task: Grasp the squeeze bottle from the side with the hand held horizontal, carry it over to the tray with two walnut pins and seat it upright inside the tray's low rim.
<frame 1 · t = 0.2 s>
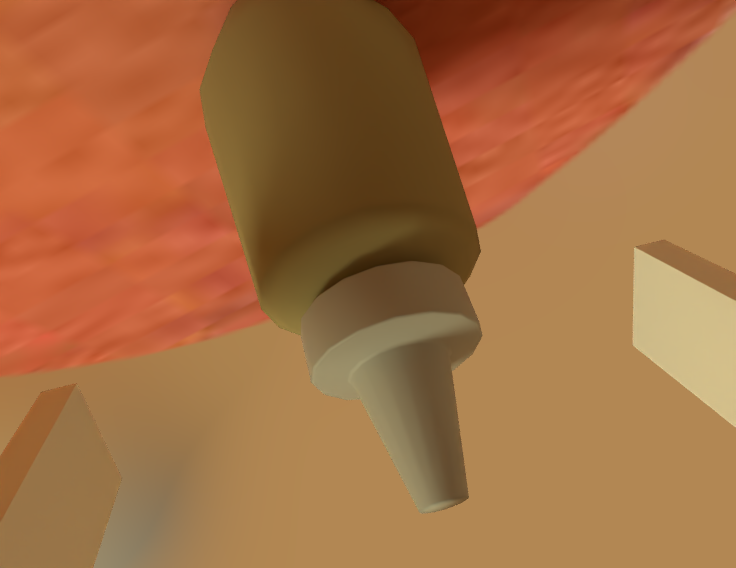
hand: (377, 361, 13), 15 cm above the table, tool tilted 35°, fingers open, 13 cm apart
squeeze bottle: (296, 39, 22), on the table
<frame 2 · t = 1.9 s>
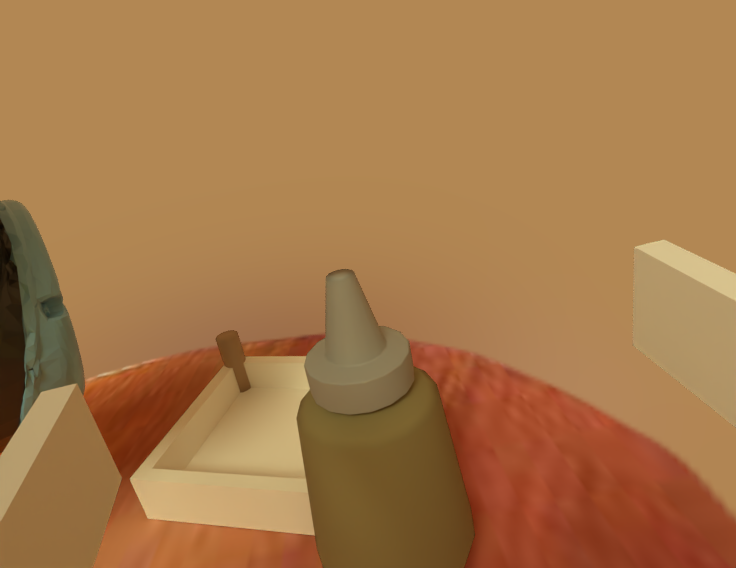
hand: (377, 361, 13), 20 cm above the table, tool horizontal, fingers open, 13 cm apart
tray: (283, 449, 41), on the table
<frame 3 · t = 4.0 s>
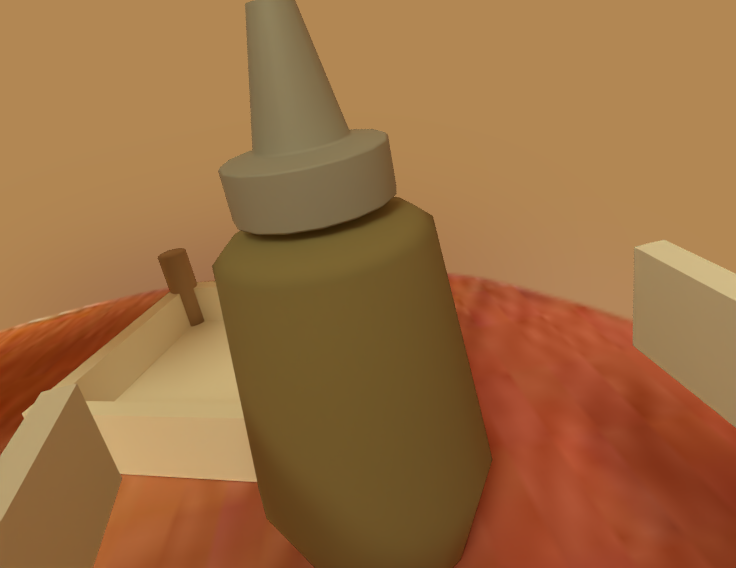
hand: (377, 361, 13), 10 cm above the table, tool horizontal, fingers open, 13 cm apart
squeeze bottle: (391, 535, 21), on the table
tray: (238, 386, 32), on the table
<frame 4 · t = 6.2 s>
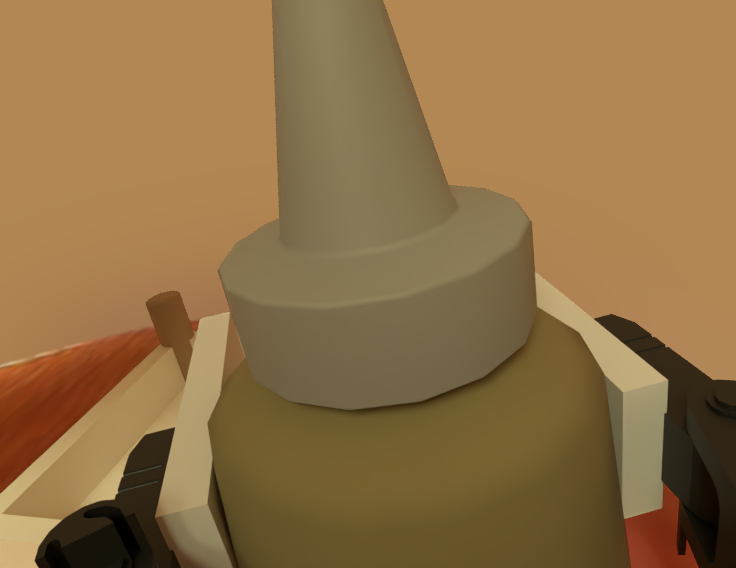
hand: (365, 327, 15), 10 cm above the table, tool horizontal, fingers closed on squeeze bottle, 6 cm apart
tray: (243, 474, 25), on the table
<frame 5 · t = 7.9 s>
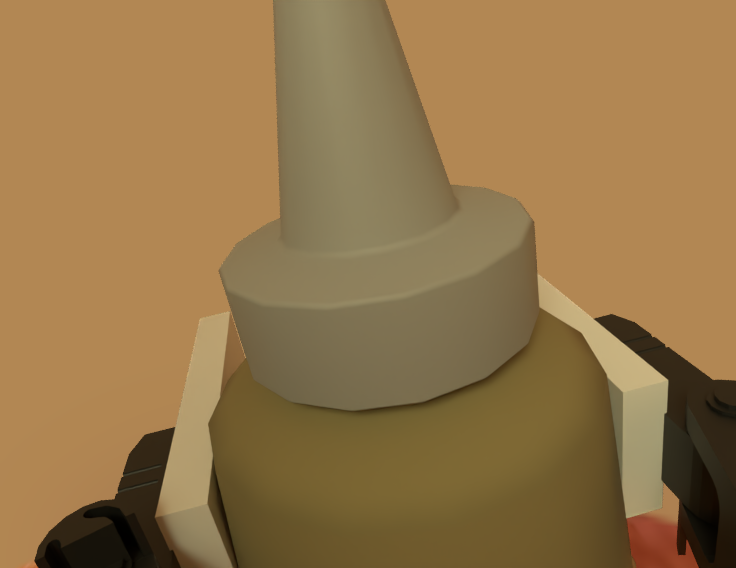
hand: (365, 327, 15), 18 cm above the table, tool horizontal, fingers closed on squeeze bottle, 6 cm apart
when the fingers open (12 cm above the table, at t = 9.6 s): squeeze bottle stays where it is, resting on tray.
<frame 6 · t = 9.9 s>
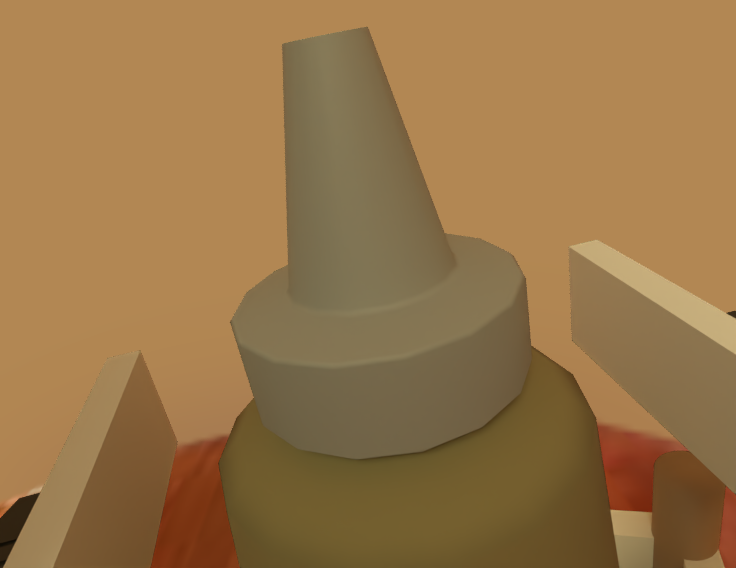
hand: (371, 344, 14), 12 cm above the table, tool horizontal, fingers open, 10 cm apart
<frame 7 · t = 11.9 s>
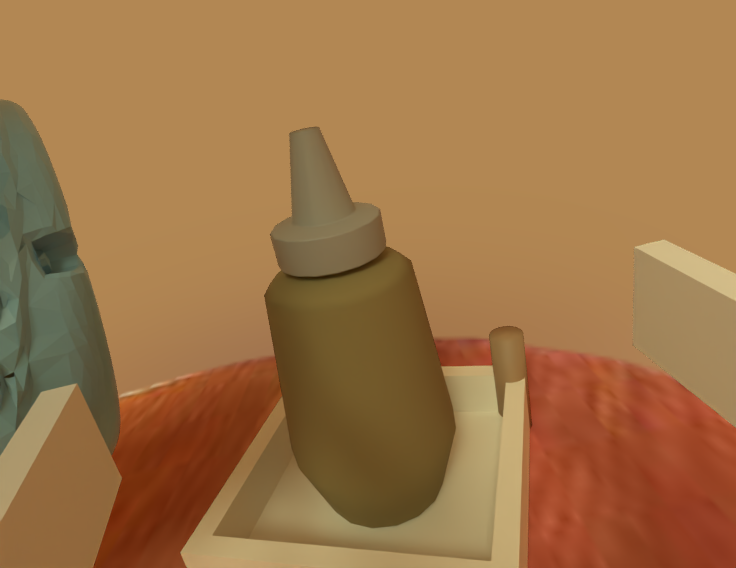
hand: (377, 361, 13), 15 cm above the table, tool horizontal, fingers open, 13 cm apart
squeeze bottle: (386, 488, 29), point 1 cm above the table, touching tray
tray: (388, 499, 29), on the table
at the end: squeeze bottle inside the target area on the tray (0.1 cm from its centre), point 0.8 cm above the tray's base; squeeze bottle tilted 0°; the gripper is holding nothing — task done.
